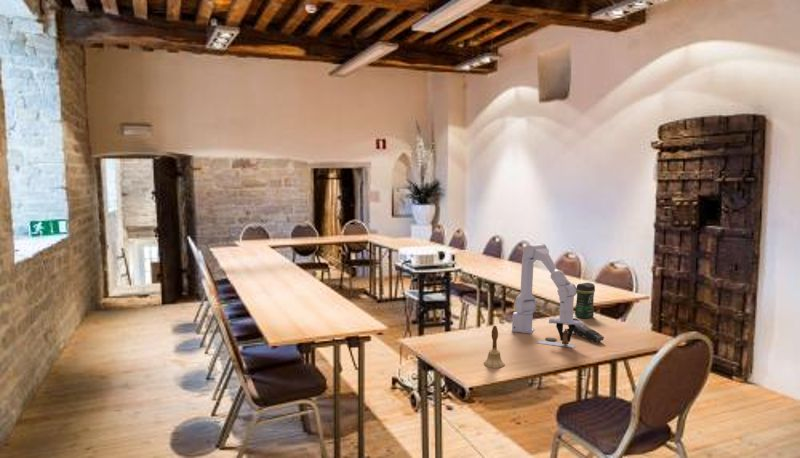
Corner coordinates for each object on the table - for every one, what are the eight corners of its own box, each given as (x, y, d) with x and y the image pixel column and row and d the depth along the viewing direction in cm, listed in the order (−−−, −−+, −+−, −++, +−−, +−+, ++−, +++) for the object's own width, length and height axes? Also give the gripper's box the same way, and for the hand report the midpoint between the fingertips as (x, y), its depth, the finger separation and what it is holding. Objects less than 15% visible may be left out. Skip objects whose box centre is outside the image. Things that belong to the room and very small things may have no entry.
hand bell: (507, 368, 208) (508, 328, 207) (486, 368, 208) (487, 328, 206) (501, 360, 216) (502, 322, 215) (481, 361, 216) (482, 323, 214)
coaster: (544, 340, 243) (544, 339, 243) (546, 337, 248) (546, 336, 248) (555, 342, 241) (555, 341, 241) (557, 338, 246) (557, 338, 246)
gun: (570, 329, 260) (576, 312, 256) (598, 354, 243) (605, 337, 239) (563, 330, 258) (569, 313, 254) (591, 356, 241) (597, 338, 237)
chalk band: (537, 343, 239) (537, 342, 239) (538, 340, 243) (538, 340, 243) (573, 348, 233) (573, 347, 233) (574, 345, 236) (574, 345, 236)
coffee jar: (585, 319, 279) (586, 285, 277) (572, 316, 285) (574, 282, 284) (596, 317, 284) (597, 283, 283) (583, 313, 291) (585, 280, 289)
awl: (561, 344, 235) (562, 329, 235) (562, 342, 238) (562, 327, 237) (568, 345, 234) (568, 330, 234) (568, 343, 237) (569, 328, 236)
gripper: (548, 311, 234) (547, 340, 235) (582, 314, 228) (581, 345, 229) (550, 307, 240) (549, 336, 242) (584, 311, 234) (583, 340, 236)
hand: (565, 340), depth 236 cm, fingers closed on awl, 3 cm apart
